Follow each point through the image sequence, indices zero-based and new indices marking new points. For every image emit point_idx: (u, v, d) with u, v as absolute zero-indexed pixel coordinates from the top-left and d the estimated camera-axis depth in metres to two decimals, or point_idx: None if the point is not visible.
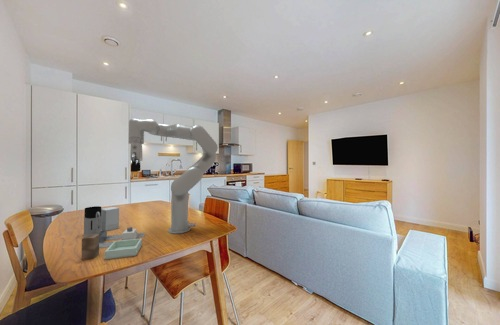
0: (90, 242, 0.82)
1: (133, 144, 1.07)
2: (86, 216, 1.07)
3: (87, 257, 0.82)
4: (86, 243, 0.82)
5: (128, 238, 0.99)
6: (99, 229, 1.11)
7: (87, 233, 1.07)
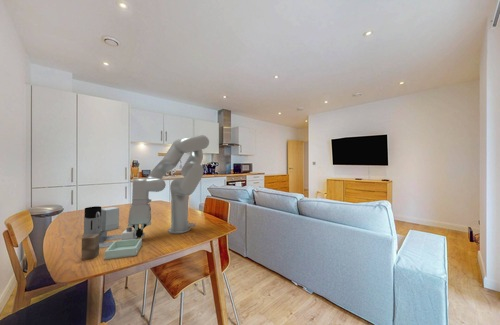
0: (90, 242, 0.82)
1: (149, 206, 1.04)
2: (86, 216, 1.07)
3: (87, 257, 0.82)
4: (86, 243, 0.82)
5: (127, 238, 0.99)
6: (99, 229, 1.11)
7: (87, 233, 1.07)
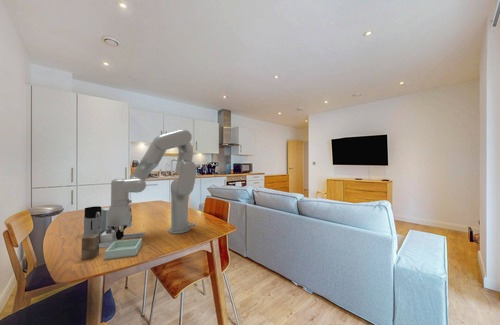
0: (90, 242, 0.82)
1: (129, 207, 1.01)
2: (86, 216, 1.07)
3: (87, 257, 0.82)
4: (86, 243, 0.82)
5: (106, 240, 0.96)
6: (99, 229, 1.11)
7: (87, 233, 1.07)
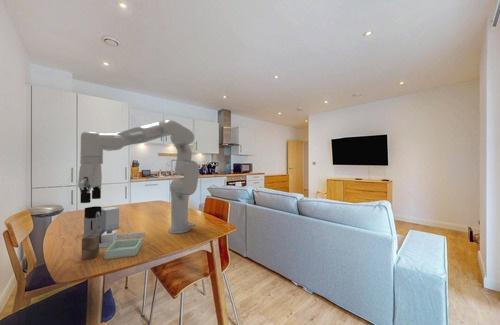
0: (90, 242, 0.82)
1: None
2: (86, 216, 1.07)
3: (87, 257, 0.82)
4: (86, 243, 0.82)
5: (107, 240, 0.96)
6: (99, 229, 1.11)
7: (87, 233, 1.07)
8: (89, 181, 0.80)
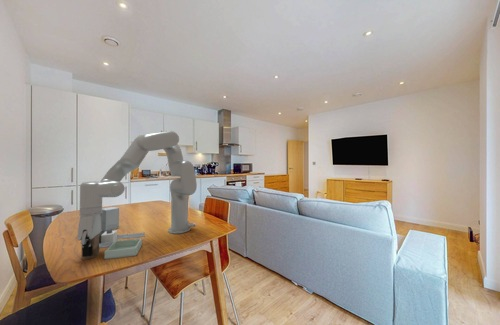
0: None
1: None
2: None
3: (87, 257, 0.82)
4: None
5: (107, 240, 0.96)
6: None
7: None
8: (88, 234, 0.80)
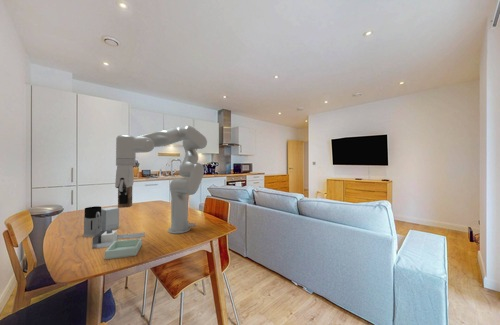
0: None
1: None
2: (86, 216, 1.07)
3: (123, 205, 0.87)
4: None
5: (107, 240, 0.96)
6: (99, 229, 1.11)
7: (87, 233, 1.07)
8: (125, 182, 0.85)
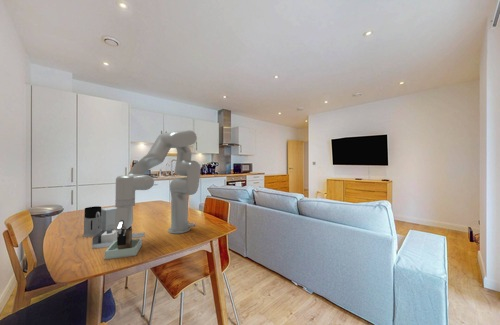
0: None
1: None
2: (86, 216, 1.07)
3: None
4: None
5: (107, 240, 0.96)
6: (99, 229, 1.11)
7: (87, 233, 1.07)
8: (125, 224, 0.84)
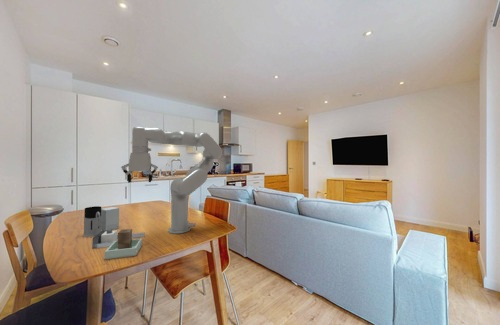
0: (125, 237, 0.87)
1: (149, 154, 1.06)
2: (86, 216, 1.07)
3: None
4: (122, 237, 0.87)
5: (107, 240, 0.96)
6: (99, 229, 1.11)
7: (87, 233, 1.07)
8: None
